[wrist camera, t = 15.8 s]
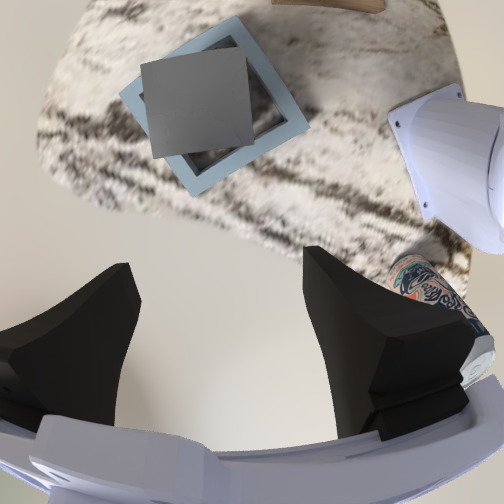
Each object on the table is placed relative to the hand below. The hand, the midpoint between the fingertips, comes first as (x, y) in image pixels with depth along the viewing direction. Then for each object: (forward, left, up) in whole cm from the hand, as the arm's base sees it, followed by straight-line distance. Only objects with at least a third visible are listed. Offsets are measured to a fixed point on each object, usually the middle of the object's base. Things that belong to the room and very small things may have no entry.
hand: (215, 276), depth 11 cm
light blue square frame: (+6, -3, -9) cm, 12 cm away
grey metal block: (+6, -3, -10) cm, 12 cm away
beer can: (-14, -10, -10) cm, 20 cm away
